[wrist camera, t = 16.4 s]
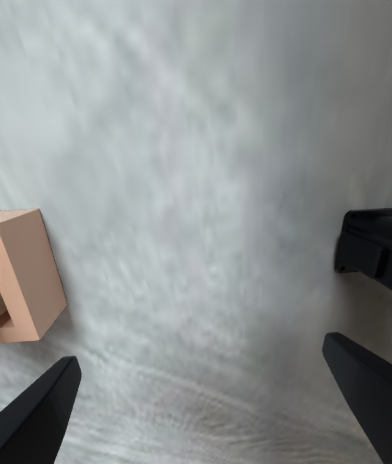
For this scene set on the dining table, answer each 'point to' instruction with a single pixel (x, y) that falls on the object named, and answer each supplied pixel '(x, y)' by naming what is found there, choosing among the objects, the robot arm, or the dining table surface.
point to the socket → (27, 277)
